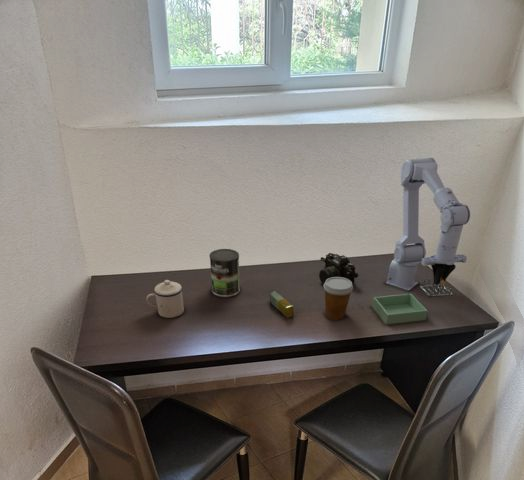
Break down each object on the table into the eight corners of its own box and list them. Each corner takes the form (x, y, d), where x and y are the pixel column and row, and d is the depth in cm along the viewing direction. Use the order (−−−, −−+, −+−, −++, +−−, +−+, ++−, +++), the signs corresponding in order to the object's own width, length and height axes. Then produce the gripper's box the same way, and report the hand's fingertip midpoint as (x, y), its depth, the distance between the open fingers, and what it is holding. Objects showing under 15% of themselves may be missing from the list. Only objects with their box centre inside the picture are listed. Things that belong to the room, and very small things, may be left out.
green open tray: (385, 325, 150) (387, 315, 148) (371, 307, 159) (373, 297, 157) (425, 321, 152) (427, 310, 150) (408, 303, 162) (411, 293, 159)
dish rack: (429, 297, 150) (433, 283, 147) (419, 287, 155) (422, 273, 153) (453, 295, 151) (457, 281, 148) (442, 285, 157) (446, 272, 154)
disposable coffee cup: (331, 325, 150) (334, 292, 143) (315, 311, 157) (318, 280, 150) (355, 318, 154) (359, 285, 147) (338, 305, 160) (342, 273, 153)
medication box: (270, 302, 162) (269, 293, 159) (276, 300, 163) (275, 290, 160) (287, 318, 153) (286, 308, 151) (294, 315, 154) (293, 305, 151)
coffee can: (232, 299, 164) (231, 262, 155) (207, 294, 167) (204, 257, 158) (244, 286, 171) (243, 251, 163) (219, 281, 174) (217, 246, 166)
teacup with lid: (184, 303, 161) (180, 273, 154) (184, 317, 154) (181, 286, 147) (149, 306, 159) (144, 276, 153) (148, 320, 152) (142, 289, 145)
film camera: (305, 280, 175) (307, 256, 169) (324, 269, 183) (326, 245, 177) (345, 295, 166) (348, 270, 160) (363, 283, 174) (366, 258, 168)
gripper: (432, 251, 139) (423, 291, 147) (476, 247, 142) (464, 287, 150) (421, 242, 145) (413, 281, 153) (463, 239, 147) (453, 277, 155)
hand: (438, 283), depth 152 cm, fingers closed on dish rack
